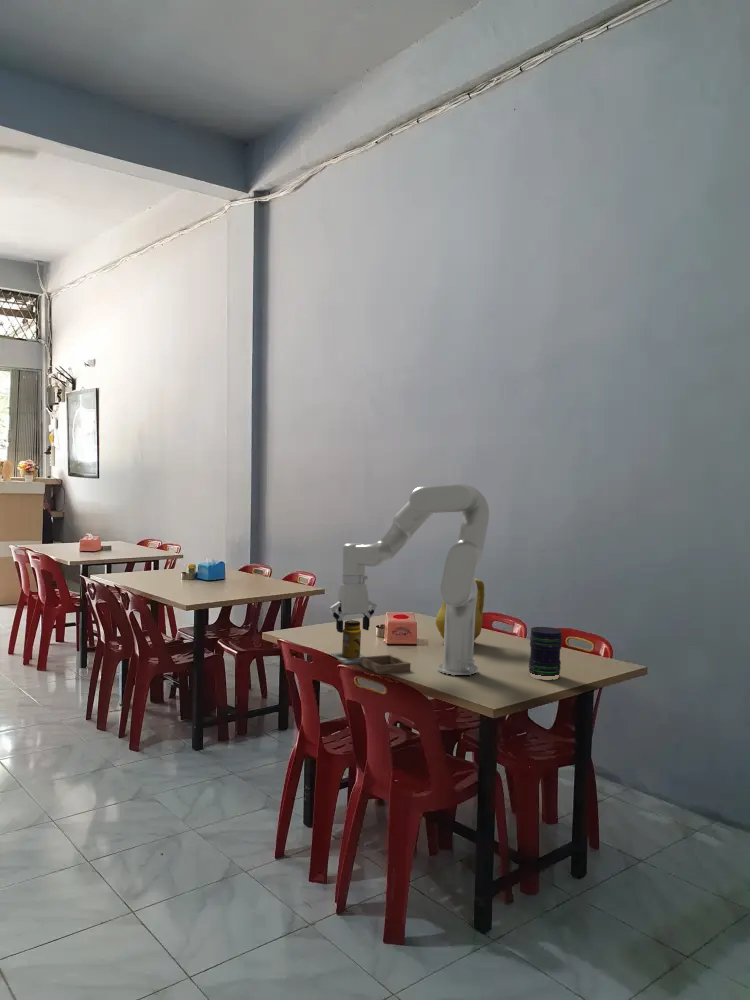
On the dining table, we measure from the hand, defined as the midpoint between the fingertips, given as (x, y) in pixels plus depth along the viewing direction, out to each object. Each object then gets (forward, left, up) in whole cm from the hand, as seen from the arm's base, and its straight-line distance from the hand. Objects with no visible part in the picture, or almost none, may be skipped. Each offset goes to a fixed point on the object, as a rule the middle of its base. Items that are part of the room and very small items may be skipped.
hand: (352, 630), depth 259 cm
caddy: (-15, -5, -10) cm, 18 cm away
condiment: (0, +1, -9) cm, 9 cm away
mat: (0, 0, -10) cm, 9 cm away
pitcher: (+6, -49, -10) cm, 50 cm away
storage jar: (-42, -48, -10) cm, 64 cm away
